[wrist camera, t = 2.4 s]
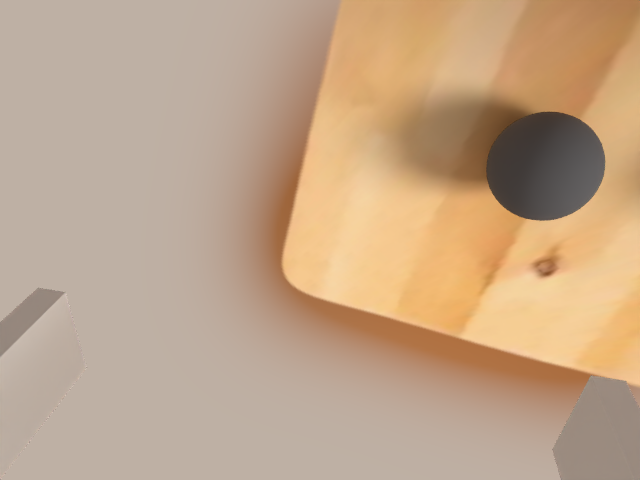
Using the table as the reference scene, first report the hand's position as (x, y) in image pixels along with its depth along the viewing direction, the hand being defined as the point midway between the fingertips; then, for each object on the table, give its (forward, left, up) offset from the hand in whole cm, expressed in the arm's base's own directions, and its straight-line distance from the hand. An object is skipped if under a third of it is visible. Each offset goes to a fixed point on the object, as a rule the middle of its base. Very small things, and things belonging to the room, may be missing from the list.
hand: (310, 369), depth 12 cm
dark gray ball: (0, +9, -16) cm, 18 cm away
